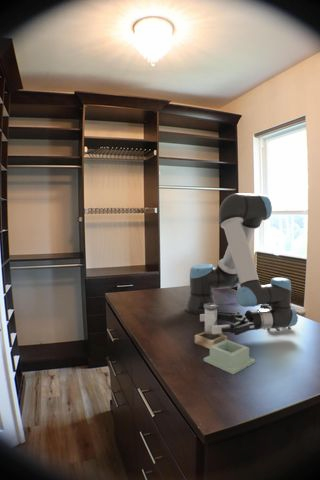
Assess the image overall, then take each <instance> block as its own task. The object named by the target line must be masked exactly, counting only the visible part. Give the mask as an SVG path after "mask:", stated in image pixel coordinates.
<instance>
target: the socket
mask: <svg viewBox="0 0 320 480" xmlns="http://www.w3.org/2000/svg"><path fill="white" fill-rule="evenodd" d="M203 362H206V363H207V364H209V365H212V366H214V367H216V368H218V369H221V370H222V371H225V372H227V373H229V374H231V375H235V374H237V373H239V372H240V371H242V370H243V369H246V368H247V366H248V367H250V366H252V365H253V364H254V362H255V363H256V359H255V358H253V357H250V347H248V346H246V345H243V344H240V343H238V342H235V341H232V340H229V339H227V340H224V341H222V342H220V343H217V344H215V345H213V346H210V349H209V355H208V356H206V357H204V358H203ZM252 363H253V364H252Z"/></svg>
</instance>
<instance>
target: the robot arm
mask: <svg viewBox="0 0 320 480" xmlns="http://www.w3.org/2000/svg"><path fill="white" fill-rule="evenodd" d="M272 212H273V206H272V202H271V199H270V198H269V196H267V195H266V194H262V193H239V192H238V193H232V194H229V195H228V196H227V197H225V198H224V200H223V201H222V202H221V204H220V207H219V211H218V221H219V224H220V228H221V229H223V230H224V233H225V236H226V241H227V243H228V244H227V247H226V250H225V252H224V253H225V254H224V255H223V258H221V259H219V261H218V263H217V265H215V266H214V265H213V264H211V263H200V264H199V263H198V264H196V265H193V266H191V268H190V269H189V298H188V301H187V304H186V311H187V312H188V313H190V314H193V315H199V322H205V308H204V304H205V303H215V304H216V301H215V297H214V290H219V289H232V288H235V287H238V286H239V287H238V288H237V290H236V299H237V303H238V305H240V306H241V307H244V308H248V307H253V308H254V307H256V306H257V307H258V306H260V305H269V304H270V306H271V308H270V309H264V308H258V309H247V310H246V311H245V314H241V313H240V312H239V311H237V312H236V311H235V312H234V311H233V312H232V311H222V310H219V311H218V310H217V321H223V322H224V321H226V322H230V324H221V325H217V326H212V334H229V333H230V334H233V335H234V336H238V335H241V334H244V333H246V332H249V331H257V330H268V329H269V328H270V329H276V328H278V329H280V328H281V329H282V328H288V327H291V328H292V327H295V326H296V325H297V323H298V319H299V318H298V317H299V316H298V315H297V313H298V312H297V311H296V309H295V308H294V307H293V306H292V307H293V308H292V307H291V304H292V301H291V299H292V298H291V297H292V283H291V282H292V281H291V280H290V279H288V278H285V277H273V278H271V279H270V283H269V284H261V282H260V278H259V275H258V271H257V269H256V265H255V261H254V259H253V256H252V252H251V249H250V246H249V243H250V241H251V238H252V236H253V234H254V231H255V229H258V228H260V225H261V224H262V222H263V221H266V220H269V219H270V217H271V216H272ZM270 329H269V330H270Z"/></svg>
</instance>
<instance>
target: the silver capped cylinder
mask: <svg viewBox="0 0 320 480" xmlns="http://www.w3.org/2000/svg"><path fill="white" fill-rule="evenodd" d="M204 308H205V321H204V332H205V338H207V339H210V340H213V339H216V338H217V334H212V326H218V319H217V311H218V309H219V305H218V303H216V302H215V303H205V304H204Z"/></svg>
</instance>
